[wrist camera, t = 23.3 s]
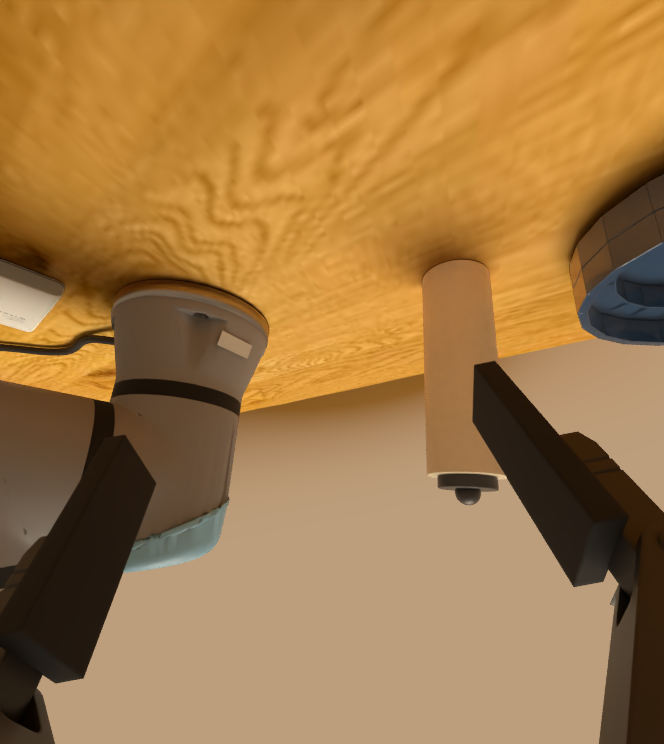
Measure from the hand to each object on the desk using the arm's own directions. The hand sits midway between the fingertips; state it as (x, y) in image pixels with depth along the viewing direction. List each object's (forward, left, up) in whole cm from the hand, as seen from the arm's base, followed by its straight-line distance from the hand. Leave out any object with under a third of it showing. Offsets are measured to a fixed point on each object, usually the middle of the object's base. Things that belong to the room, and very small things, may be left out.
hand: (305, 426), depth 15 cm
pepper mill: (+6, -15, -15) cm, 22 cm away
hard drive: (-36, -6, -16) cm, 39 cm away
